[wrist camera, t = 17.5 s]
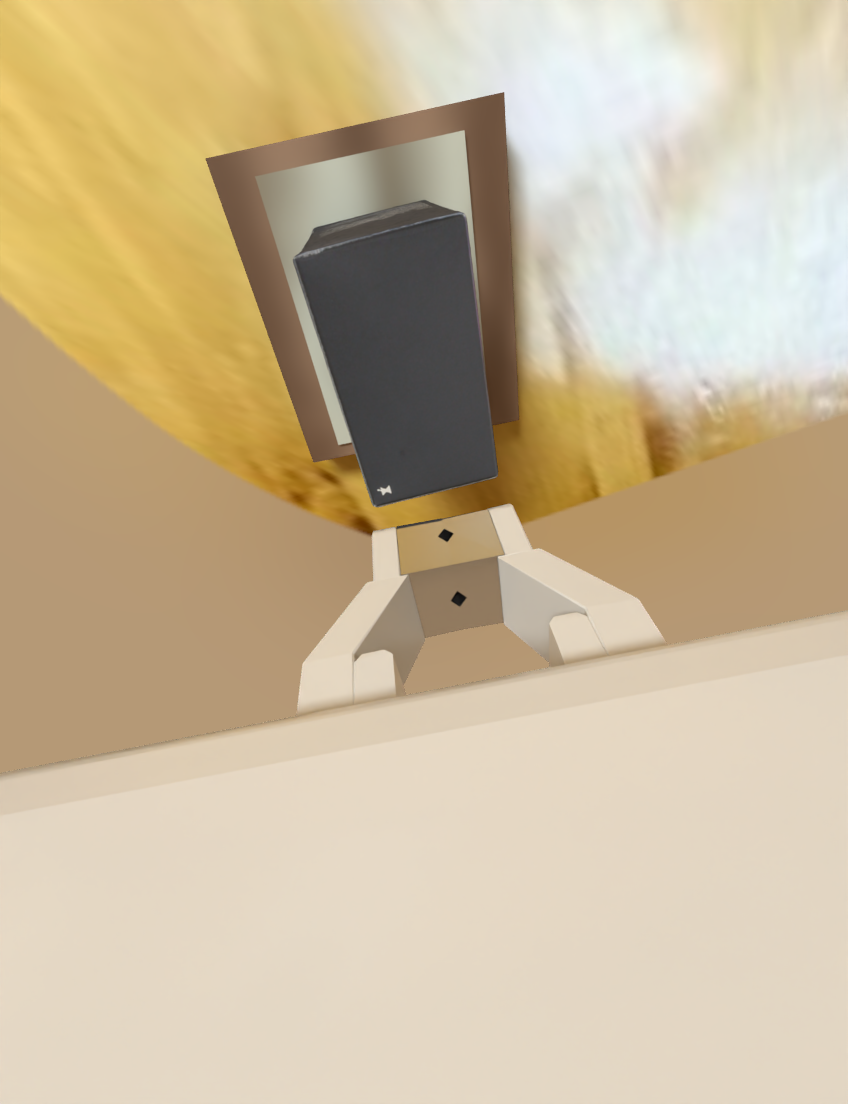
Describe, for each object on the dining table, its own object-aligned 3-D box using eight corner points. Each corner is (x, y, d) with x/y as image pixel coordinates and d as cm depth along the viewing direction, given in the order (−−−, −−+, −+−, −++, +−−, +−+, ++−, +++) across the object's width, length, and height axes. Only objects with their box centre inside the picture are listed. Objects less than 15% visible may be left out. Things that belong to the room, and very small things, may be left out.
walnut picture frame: (489, 99, 24) (505, 91, 22) (508, 402, 34) (520, 421, 32) (219, 159, 25) (204, 158, 22) (316, 442, 35) (313, 464, 32)
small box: (466, 398, 30) (506, 482, 22) (366, 422, 31) (369, 515, 22) (434, 193, 24) (475, 207, 16) (307, 227, 24) (281, 258, 16)
